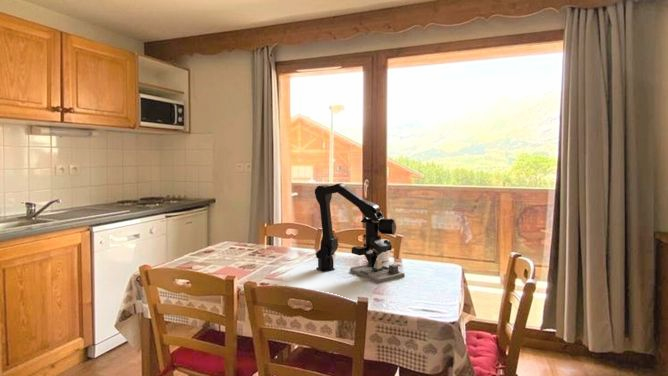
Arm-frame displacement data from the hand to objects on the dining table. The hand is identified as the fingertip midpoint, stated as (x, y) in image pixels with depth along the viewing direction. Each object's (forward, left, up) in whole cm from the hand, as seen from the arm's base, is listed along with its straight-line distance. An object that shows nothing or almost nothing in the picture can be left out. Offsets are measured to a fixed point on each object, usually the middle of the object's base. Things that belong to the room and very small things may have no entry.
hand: (372, 267), depth 179 cm
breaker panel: (+3, 0, -4) cm, 5 cm away
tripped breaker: (+3, 0, -2) cm, 4 cm away
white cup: (+21, +18, -4) cm, 28 cm away
